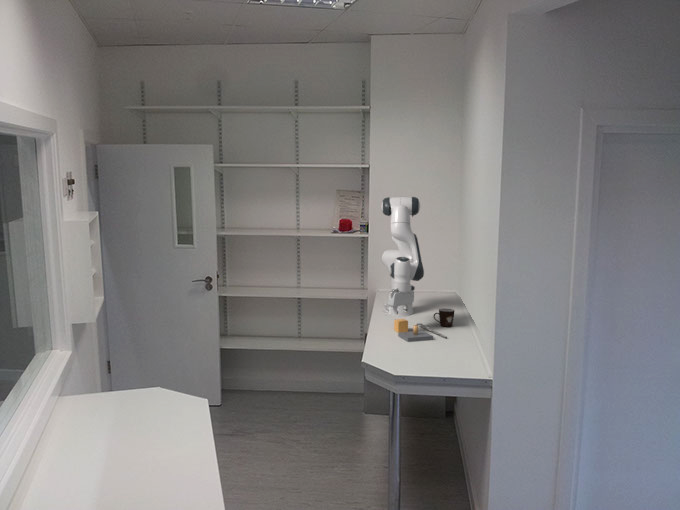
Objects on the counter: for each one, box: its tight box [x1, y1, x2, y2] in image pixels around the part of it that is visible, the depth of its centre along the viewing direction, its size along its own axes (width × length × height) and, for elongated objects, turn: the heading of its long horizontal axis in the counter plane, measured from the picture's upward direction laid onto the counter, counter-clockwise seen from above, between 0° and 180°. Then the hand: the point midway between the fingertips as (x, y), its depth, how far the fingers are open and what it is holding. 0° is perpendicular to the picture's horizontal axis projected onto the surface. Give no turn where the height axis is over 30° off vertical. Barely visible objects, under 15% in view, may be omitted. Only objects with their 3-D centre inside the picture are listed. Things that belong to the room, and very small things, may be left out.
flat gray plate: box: [397, 324, 434, 343], centre depth 301 cm, size 12×14×6 cm
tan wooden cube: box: [393, 318, 409, 333], centre depth 316 cm, size 6×6×6 cm
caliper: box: [415, 322, 448, 339], centre depth 314 cm, size 29×2×5 cm
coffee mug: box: [433, 307, 455, 328], centre depth 325 cm, size 12×9×10 cm
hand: (400, 313), depth 315 cm, fingers open, 8 cm apart
